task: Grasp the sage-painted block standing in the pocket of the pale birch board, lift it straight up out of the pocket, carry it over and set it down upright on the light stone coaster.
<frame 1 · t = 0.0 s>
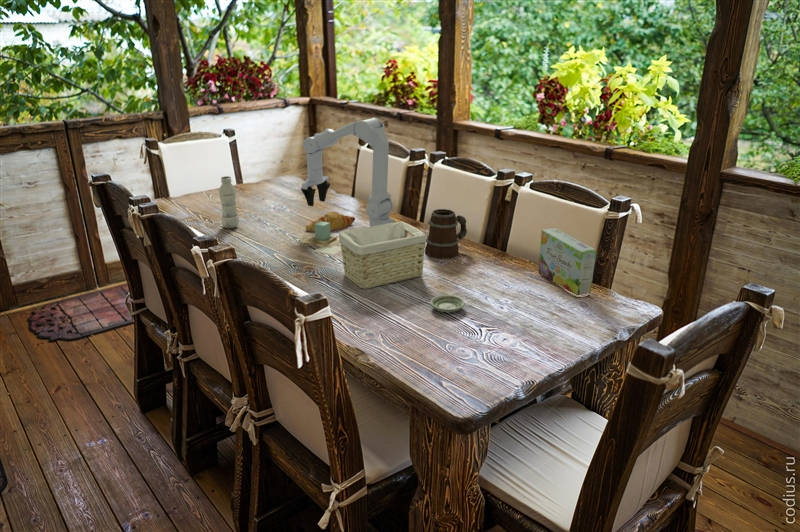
hand: (316, 203, 232), 10 cm above the table, fingers open, 7 cm apart
croissant: (330, 228, 237), on the table
snack box: (562, 284, 187), on the table
block: (322, 240, 221), point 1 cm above the table, touching pocket board
storage basket: (382, 276, 192), on the table
saucer: (447, 310, 170), on the table
coaster: (329, 250, 213), on the table
pocket board: (323, 241, 221), on the table
plastic bottle: (231, 228, 236), on the table
mug: (446, 252, 213), on the table
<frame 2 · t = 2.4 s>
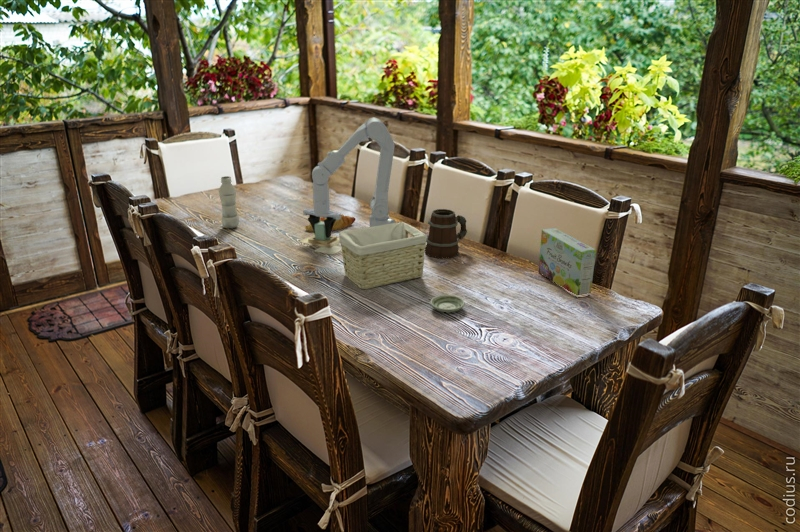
hand: (322, 236, 221), 2 cm above the table, fingers closed on block, 4 cm apart
block: (322, 240, 221), point 1 cm above the table, touching gripper, pocket board
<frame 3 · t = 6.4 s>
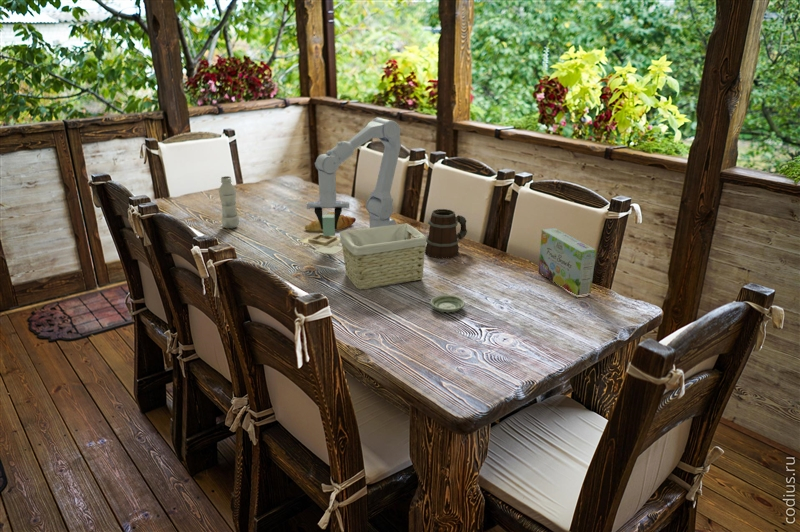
hand: (328, 228, 210), 8 cm above the table, fingers closed on block, 4 cm apart
block: (329, 234, 211), point 6 cm above the table, touching gripper
when the fingers open (3 cm above the table, at t = 7.8 s): block stays where it is, resting on coaster, pocket board.
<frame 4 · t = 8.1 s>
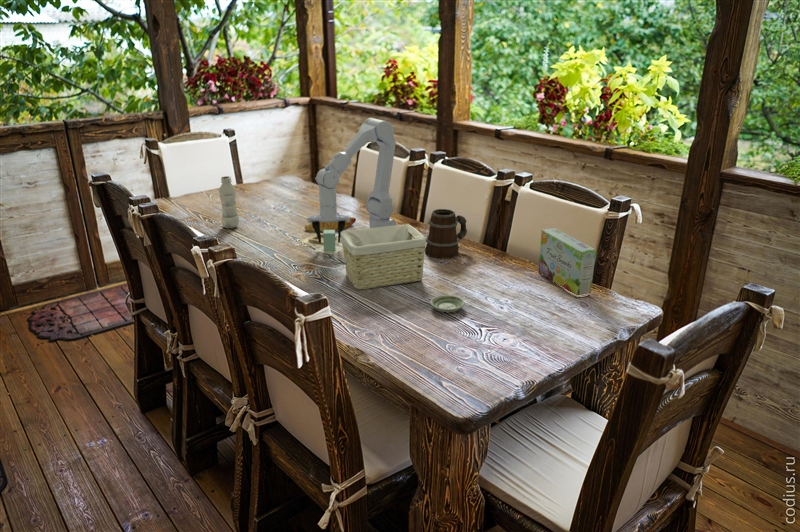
hand: (329, 241, 212), 3 cm above the table, fingers open, 6 cm apart
block: (329, 249, 213), point 1 cm above the table, touching coaster, pocket board
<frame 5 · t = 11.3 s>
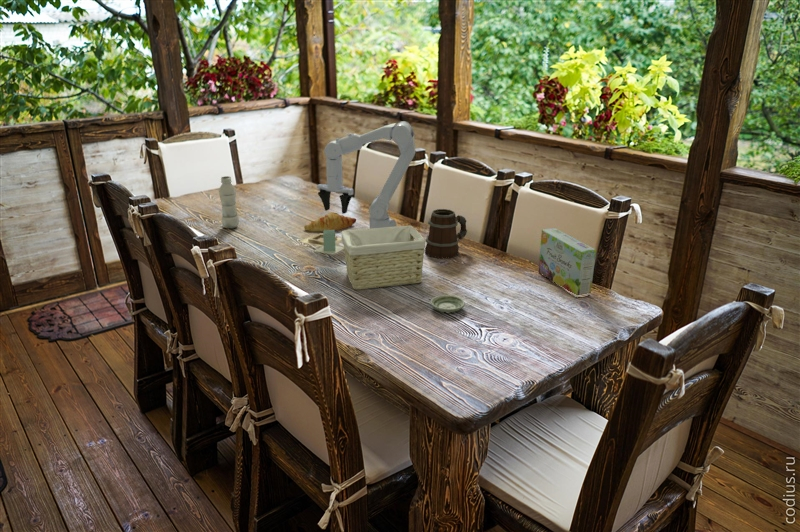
hand: (335, 211, 222), 10 cm above the table, fingers open, 7 cm apart
at the end: block inside the target area on the coaster (0.1 cm from its centre), point 0.6 cm above the coaster's base; block tilted 0°; the gripper is holding nothing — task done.
